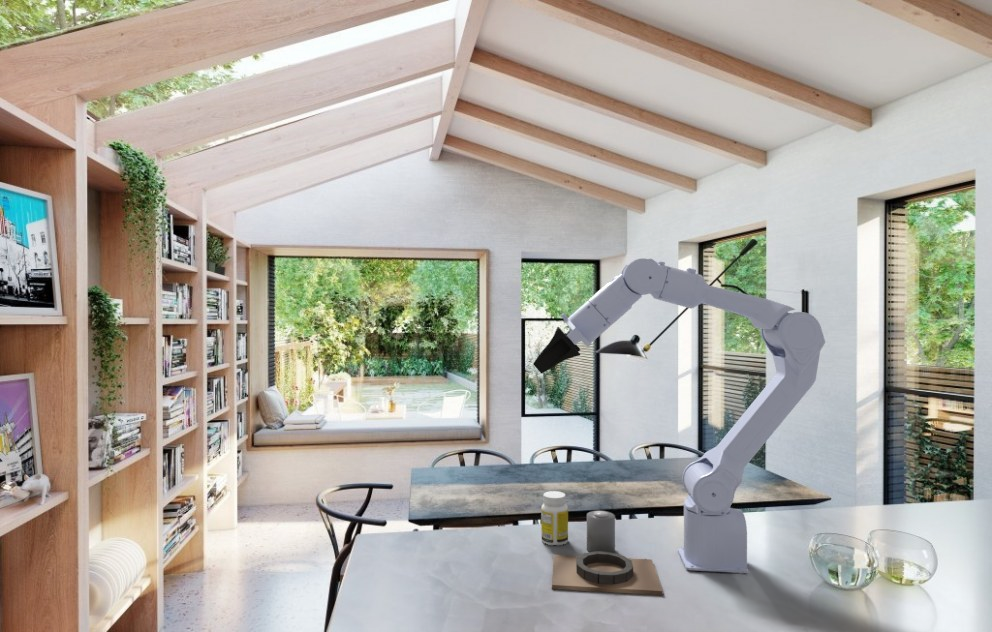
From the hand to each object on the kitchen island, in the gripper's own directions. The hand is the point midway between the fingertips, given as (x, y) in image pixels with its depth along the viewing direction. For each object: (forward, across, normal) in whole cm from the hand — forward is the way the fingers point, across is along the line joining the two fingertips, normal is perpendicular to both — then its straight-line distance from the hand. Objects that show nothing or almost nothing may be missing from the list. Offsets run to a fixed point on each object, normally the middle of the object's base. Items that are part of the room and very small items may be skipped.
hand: (538, 366), depth 100 cm
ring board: (+13, +7, +31) cm, 34 cm away
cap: (+13, -3, +31) cm, 34 cm away
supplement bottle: (+19, -6, +26) cm, 33 cm away
